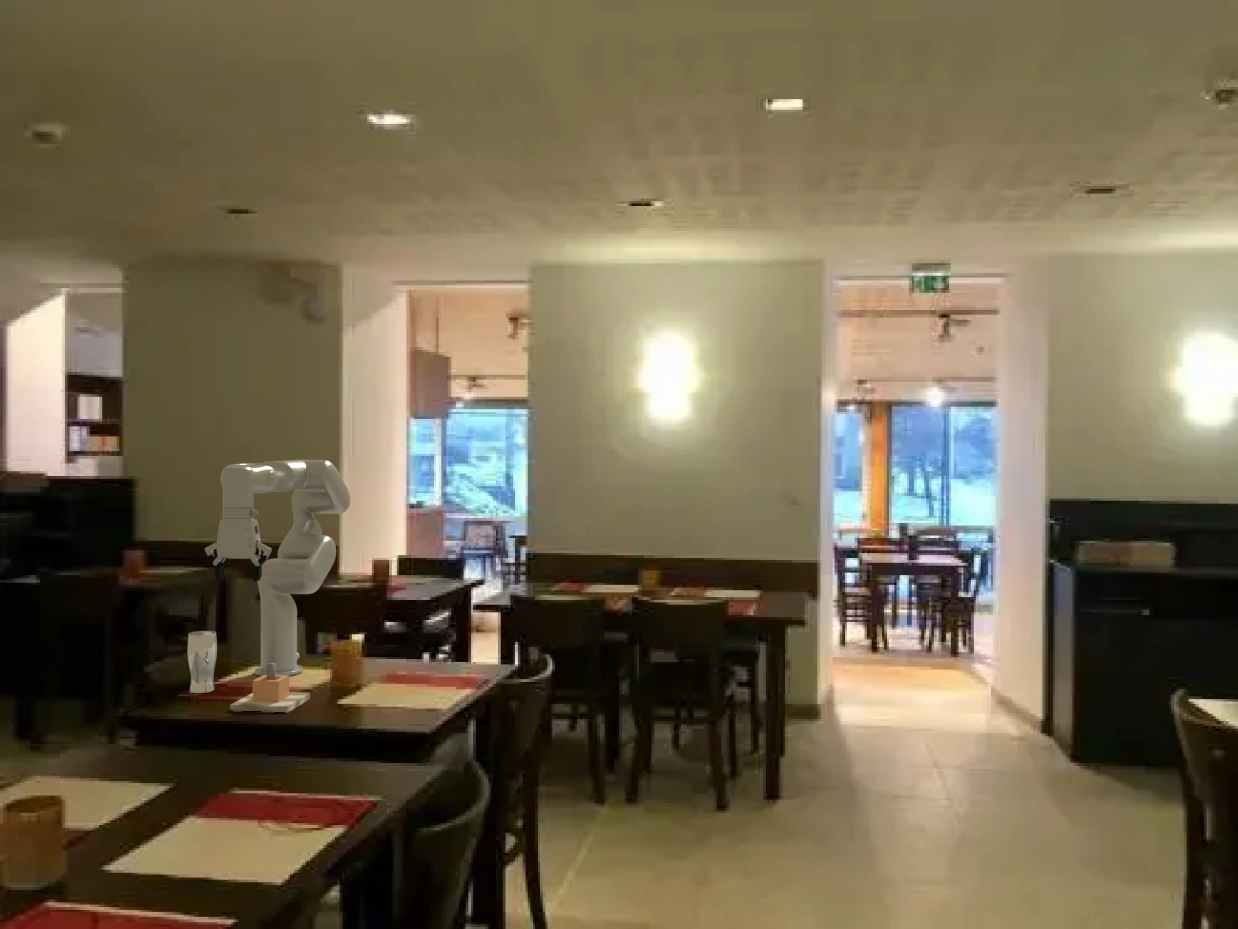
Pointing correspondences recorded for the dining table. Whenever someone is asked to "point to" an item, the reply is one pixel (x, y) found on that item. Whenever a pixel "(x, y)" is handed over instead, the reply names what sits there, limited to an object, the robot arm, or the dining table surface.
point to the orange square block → (270, 689)
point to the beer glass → (202, 660)
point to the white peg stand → (282, 706)
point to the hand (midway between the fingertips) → (238, 580)
